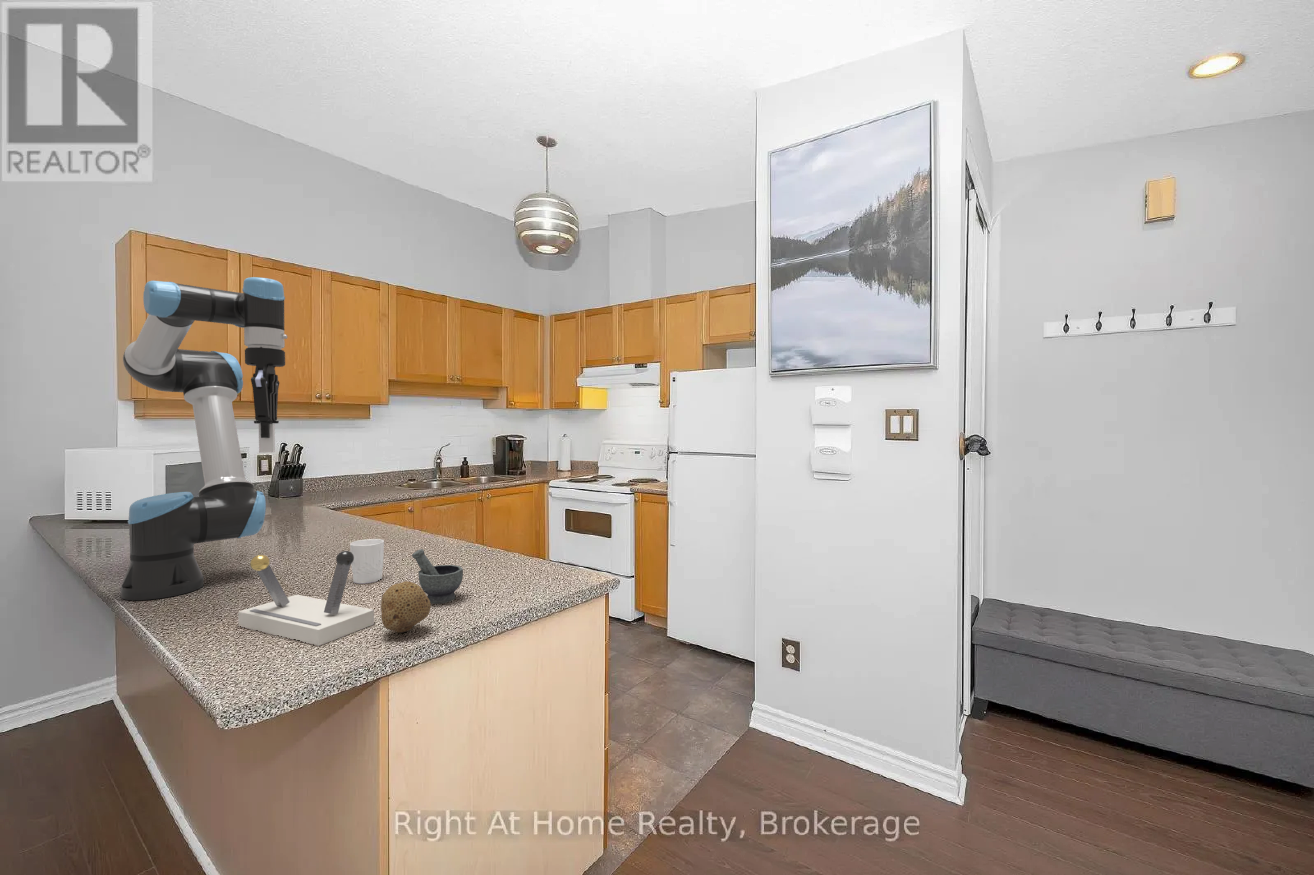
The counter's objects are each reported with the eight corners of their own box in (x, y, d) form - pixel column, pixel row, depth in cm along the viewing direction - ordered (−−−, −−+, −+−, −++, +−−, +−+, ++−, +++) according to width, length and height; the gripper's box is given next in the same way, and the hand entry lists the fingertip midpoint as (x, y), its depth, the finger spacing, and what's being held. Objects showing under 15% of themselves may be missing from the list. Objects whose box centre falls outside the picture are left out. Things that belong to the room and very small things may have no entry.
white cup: (390, 576, 150) (390, 539, 149) (372, 585, 142) (372, 546, 142) (362, 575, 151) (362, 538, 150) (343, 584, 143) (343, 545, 142)
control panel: (296, 607, 125) (296, 593, 125) (374, 624, 115) (373, 608, 115) (238, 626, 114) (238, 610, 114) (318, 646, 104) (318, 628, 104)
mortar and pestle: (465, 592, 137) (465, 543, 136) (460, 604, 128) (459, 552, 127) (416, 594, 135) (416, 545, 134) (407, 607, 125) (406, 554, 125)
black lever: (332, 612, 114) (348, 550, 117) (343, 614, 112) (359, 552, 116) (318, 611, 111) (334, 549, 114) (329, 614, 110) (345, 550, 113)
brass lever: (285, 597, 119) (258, 550, 114) (295, 599, 118) (269, 552, 113) (271, 608, 116) (243, 560, 111) (281, 610, 115) (253, 562, 110)
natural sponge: (435, 622, 116) (434, 575, 116) (424, 639, 108) (424, 588, 107) (388, 624, 115) (388, 576, 115) (373, 642, 106) (373, 590, 106)
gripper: (277, 345, 122) (279, 453, 123) (291, 352, 134) (293, 450, 135) (235, 344, 120) (237, 454, 120) (254, 350, 132) (256, 450, 132)
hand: (267, 452), depth 128 cm, fingers closed
